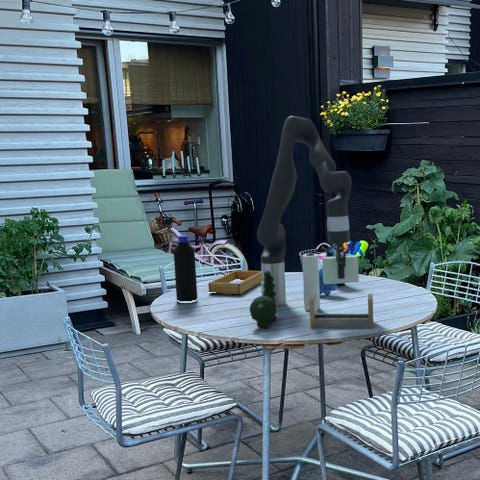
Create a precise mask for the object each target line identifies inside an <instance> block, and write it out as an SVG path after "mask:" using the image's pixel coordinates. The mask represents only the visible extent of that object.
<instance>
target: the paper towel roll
mask: <svg viewBox="0 0 480 480" xmlns="http://www.w3.org/2000/svg"><path fill="white" fill-rule="evenodd" d="M319 270H320V265H319V254H318V253H307V252H306V253H304V254H302V280H303V282H302V283H303V304H304V305H303V306H304V307H303V309H304V310H305V311H307V312H310V297H311V294H316V308H317V311H318V310H319V311H320V310H321V299H320V298H321V295H320V291H319Z"/></svg>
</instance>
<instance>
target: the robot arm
mask: <svg viewBox="0 0 480 480" xmlns="http://www.w3.org/2000/svg"><path fill="white" fill-rule="evenodd" d="M295 142H296V143H301V144H305V145H306V146H307V147H308V148H309V162H310V163H311V165H312V167H313V169H315V171H316V173H317V176H318V178H319V179H318V180H319V184H320V188H321V189H322V190H323V191H324V192H326V193H328V194H329V193H336V196H335V197H334V198H331V199H329V200H328V201H327V203H326V211H327V212H326V214H327V219H326V221H327V222H326V228H327V243H329V244H332V245H333V244H335V247H333V252H334V257H335V260H336V262H337V268H338V278H339V279H344V278H345V273H344V268H345V266H346V256H347V249H346V247H345V245H344V244H348V243H349V242H350V241H351V239H350V237H351V236H350V223H349V222H350V221H349V214H348V212H349V211H348V210H349V209H348V202H349V199H350V193H351V189H352V176H351V175H350V174H349V172H348V171H346V170H339V171H336V169H337V165H336V162H335V161H334V159H333V158H332V156H331V155H330V154H329V152H328V151H327V149H326V147H325V146H324V144H323V141H322V139H321V137H320V134H319V132H318V130H317V127H316V125H315V123H314V122H313V121H312V120H311V119H310V118H306V117H300V116H295V115H290V116H288V117H287V118H286V119H285V121H284V124H283V127H282V131H281V138H280V144H279V148H278V149H279V150H278V155H277V159H276V164H275V168H274V171H273V174H272V178H271V182H270V187H269V192H268V195H267V199H266V204H265V208H264V211H263V214H262V217H261V219H260V223H259V225H258V227H257V231H256V239H257V240H258V243H259V244H260V245H262V246H263V251H262V253H261V255H260V264H261V265H260V267H261V270H260V271H262V282H261V283H260V287H261V289H260V290H261V291H260V293H261V296H263V292H264V290H265V289H264V287H263V285H264V283H265V282H264V278H265V276H264V272H265V271H269V272H270V273H271V276H272V277H273V278H274V280H273V284H275V287H274V289H273V290H274V292H276V295H274V298H275V302H276V303H275V304H276V306H277V307H280V306H281V307H282V306H284V305H286V304H287V301H286V299H287V298H286V293H287V292H286V276H285V255H286V230H285V228H284V225H283V224H282V223H281V220H282V216H283V213H284V211H285V210H286V207H287V206H288V204H289V202H290V201H291V198H292V197H293V194H294V191H295V188H296V183H297V178H298V174H297V169H296V166H295V162H294V159H293V158H294V157H293V151H294V144H295ZM337 258H338V259H337ZM340 262H343V264H340Z"/></svg>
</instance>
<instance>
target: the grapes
mask: <svg viewBox="0 0 480 480" xmlns="http://www.w3.org/2000/svg"><path fill="white" fill-rule="evenodd" d="M337 284H338V283H337ZM337 289H338V287H337V285H336V284H324V283H323V268H319V291H320V296H321V295H322V294H324V295H325V296H329V295H330V294H331V292H334V291H336V290H337Z"/></svg>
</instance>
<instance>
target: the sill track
mask: <svg viewBox="0 0 480 480" xmlns="http://www.w3.org/2000/svg"><path fill="white" fill-rule="evenodd" d="M367 307H368V309H367V313H318V312H317V311H318V310H317V308H316V294H311V297H310V311H309V319H310V320H309V321H310V328H311V329H374V297H373V293H367Z"/></svg>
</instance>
